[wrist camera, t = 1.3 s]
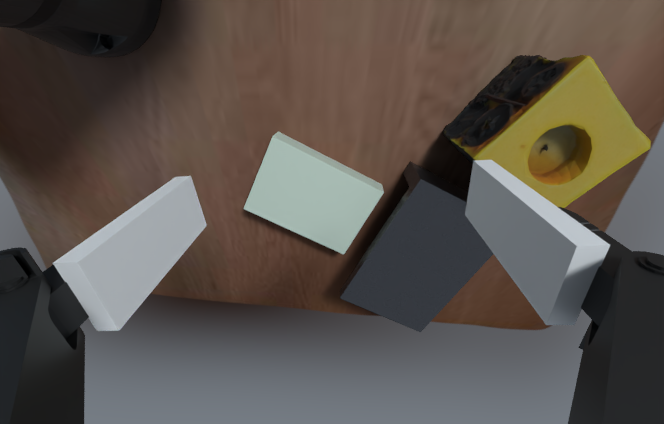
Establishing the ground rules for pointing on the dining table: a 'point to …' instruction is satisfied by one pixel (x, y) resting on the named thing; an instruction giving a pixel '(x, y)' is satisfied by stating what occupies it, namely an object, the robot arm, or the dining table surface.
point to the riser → (418, 254)
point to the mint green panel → (312, 194)
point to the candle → (549, 126)
